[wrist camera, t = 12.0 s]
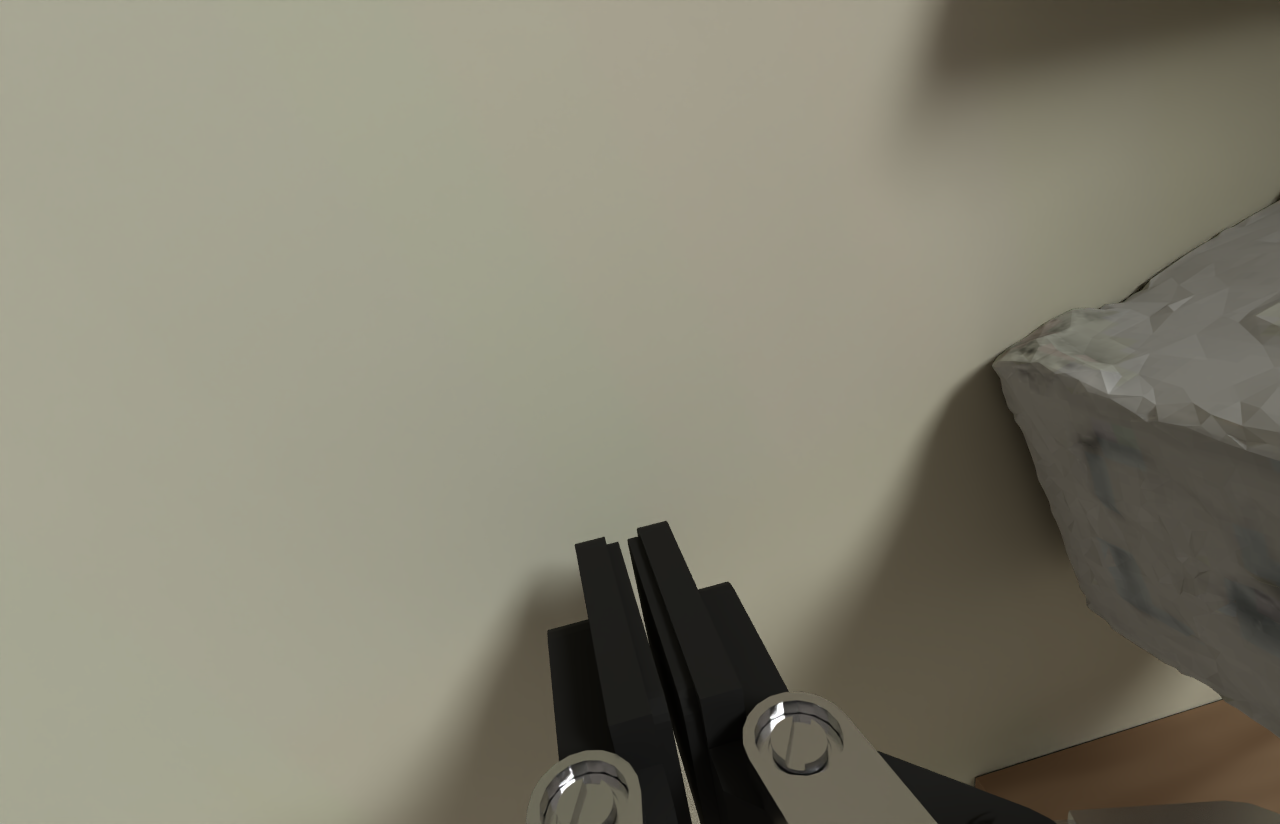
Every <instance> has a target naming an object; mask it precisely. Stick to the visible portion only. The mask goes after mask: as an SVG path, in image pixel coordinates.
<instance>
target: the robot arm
mask: <svg viewBox="0 0 1280 824" xmlns="http://www.w3.org/2000/svg"><path fill="white" fill-rule="evenodd" d="M637 534H638V537H634V538H631V539H628V546H629V551H630V555H631V560H632V565H633V570H634V574H635V579H636V584H637V589H638V593H639V598H640V603H641V608H642V612H643V617H644V622H645V627H646V631H647V636H648V639H647V636H646V633H645V629H644V626H643V623H642V619H641V616H640V613H639V609H638V606H637V603H636V599H635V596H634V593H633V589H632V586H631V583H630V579H629V576H628V573H627V569H626V566H625V563H624V559H623V556H622V553H621V549H620V546H619V543H618V542H615V543H611V544H606V541H605V537H601V538H598V539H594V540H590V541H586V542H582V543H578V544H575V549H576V554H577V560H578V565H579V570H580V576H581V581H582V586H583V592H584V597H585V603H586V608H587V613H588V620H584V621H580V622H577V623H573V624H569V625H566V626H562V627H558V628H554V629H551V630H548V633H547V635H548V648H549V658H550V669H551V680H552V690H553V701H554V712H555V722H556V733H557V743H558V754H559V762H558V763H556V764H554V765H553V766H552V767H551V768H550V769H549V770H548V771H547V772H546V773H545V774H544V775H543V776H542V777H541V779H540V780H539V782H538V784H537V785H536V787H535V789H534V790H533V792H532V794H531V798H530V802H529V805H528V809H527V817H526V824H692V821H691V817H690V812H689V807H688V802H687V797H686V792H685V788H684V783H683V778H682V773H681V768H680V763H679V758H678V754H677V749H676V744H675V739H676V742H677V746H678V749H679V752H680V756H681V759H682V762H683V766H684V769H685V773H686V776H687V779H688V783H689V786H690V789H691V793H692V796H693V800H694V803H695V806H696V810H697V813H698V816H699V820H700V823H701V824H1280V814H1278V813H1276V812H1273V811H1270V810H1268V809H1265V808H1262V807H1259V806H1256V805H1253V804H1250V803H1244V802H1234V801H1210V802H1195V803H1179V804H1164V805H1148V806H1132V807H1117V808H1101V809H1086V810H1070V811H1069V813H1068V820H1055V821H1053V820H1051V819H1050V818H1048V817H1046V816H1044V815H1042V814H1040V813H1038V812H1036V811H1034V810H1032V809H1030V808H1028V807H1025V806H1023V805H1020V804H1017V803H1015V802H1012V801H1009V800H1007V799H1004V798H1001V797H999V796H996V795H993V794H991V793H988V792H985V791H983V790H980V789H977V788H975V787H972V786H969V785H967V784H964V783H961V782H959V781H956V780H954V779H951V778H948V777H946V776H943V775H940V774H938V773H935V772H932V771H930V770H927V769H924V768H922V767H919V766H916V765H914V764H911V763H908V762H906V761H903V760H900V759H898V758H895V757H892V756H890V755H887V754H884V753H882V752H879V751H876V750H875V748H874V747H873V746H872V745H871V744H870V742H869V741H868V740H867V739H866V738H865V736H864V735H863V734H862V733H861V732H860V730H859V729H858V728H857V727H856V726H855V725H854V723H853V722H852V721H851V720H850V719H849V717H848V716H847V715H846V714H845V713H844V712H843V711H842V710H841V709H840V708H838V707H837V706H836V705H835V704H834V703H833V702H831V701H829V700H827V699H825V698H823V697H821V696H819V695H815V694H810V693H806V692H789V691H788V689H787V687H786V685H785V684H784V682H783V680H782V678H781V676H780V674H779V672H778V670H777V669H776V667H775V665H774V663H773V661H772V659H771V657H770V655H769V654H768V652H767V650H766V648H765V646H764V644H763V642H762V640H761V639H760V637H759V635H758V633H757V631H756V629H755V627H754V625H753V624H752V622H751V620H750V618H749V616H748V614H747V612H746V611H745V609H744V607H743V605H742V603H741V601H740V599H739V597H738V596H737V594H736V592H735V590H734V588H733V587H732V585H731V584H730V583H729V582H725V583H721V584H717V585H713V586H710V587H706V588H702V589H699V590H698V589H697V587H696V584H695V582H694V580H693V578H692V575H691V573H690V571H689V569H688V567H687V564H686V562H685V560H684V558H683V555H682V553H681V551H680V549H679V547H678V544H677V542H676V540H675V538H674V535H673V533H672V531H671V529H670V527H669V524H668V523H667V521H664V522H660V523H656V524H652V525H648V526H644V527H640V528H637ZM648 641H649V643H648ZM673 732H674V734H673ZM674 736H675V739H674Z"/></svg>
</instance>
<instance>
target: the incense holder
mask: <svg viewBox="0 0 1280 824" xmlns="http://www.w3.org/2000/svg"><path fill="white" fill-rule="evenodd" d="M992 367H993V368H994V370H995V371H996V373H997V374H998V375H999V377H1000V378H1001V385H1002V391H1003V394H1004V396H1005V399H1006V402H1007V406H1008V409H1009V410H1010V411H1011V412H1012V413H1014V419H1015V422H1016V423H1017V424H1018V425H1019V426H1020V428H1021V430H1022V432H1023V434H1024V437H1025V440H1026V442H1027V445H1028V448H1029V450H1030V453H1031V456H1032V459H1033V462H1034V465H1035V468H1036V472H1037V477H1038V480H1039V482H1040V484H1041V486H1042V488H1043V490H1044V492H1045V494H1046V496H1047V498H1048V500H1049V503H1050V508H1051V512H1052V514H1053V516H1054V518H1055V520H1056V522H1057V524H1058V527H1059V529H1060V532H1061V535H1062V538H1063V541H1064V544H1065V548H1066V552H1067V555H1068V557H1069V560H1070V562H1071V565H1072V567H1073V569H1074V572H1075V574H1076V577H1077V579H1078V582H1079V587H1080V589H1081V590H1082V592H1083V593H1084V594H1085V596H1086V602H1087V606H1088V607H1089V608H1090V609H1091V610H1092V611H1093V612H1095V613H1096V614H1098V615H1099V616H1101V617H1102V618H1103V619H1105V620H1106V621H1107V622H1108V623H1109V625H1110V626H1111V627H1112V629H1113V630H1115V631H1116V632H1118V633H1119V634H1121V635H1122V636H1124V637H1125V638H1127V639H1128V640H1130V641H1131V642H1133V643H1134V644H1136V645H1137V646H1139V647H1140V648H1142V649H1144V650H1146V651H1147V652H1149V653H1151V654H1152V655H1154V656H1155V657H1156V658H1158V659H1159V660H1161V661H1162V662H1164V663H1166V664H1168V665H1170V666H1172V667H1174V668H1176V669H1177V670H1178V671H1179V672H1180V673H1182V674H1184V675H1187V676H1190V677H1193V678H1195V679H1197V680H1199V681H1201V682H1202V683H1204V684H1206V685H1208V686H1209V687H1210V688H1212V689H1213V690H1214V691H1216V692H1217V693H1218V694H1219V695H1220V696H1221V697H1222V699H1223V700H1224V701H1225V702H1226V703H1228V704H1230V705H1232V706H1233V707H1235V708H1237V709H1238V710H1240V711H1241V712H1243V713H1244V714H1245V715H1247V716H1248V717H1250V718H1251V719H1253V720H1254V721H1256V722H1257V723H1259V724H1260V725H1262V726H1264V727H1265V728H1267V729H1268V730H1269V731H1271V732H1272V733H1273V734H1275V735H1276V736H1277V737H1279V738H1280V200H1279V201H1277V202H1275V203H1274V204H1272V205H1270V206H1268V207H1266V208H1264V209H1263V210H1261V211H1259V212H1257V213H1255V214H1254V215H1252V216H1250V217H1248V218H1247V219H1245V220H1244V221H1242V222H1240V223H1239V224H1237V225H1235V226H1234V227H1231V228H1228V229H1225V230H1223V231H1222V232H1221V233H1219V234H1218V235H1217V236H1216V237H1214V238H1212V239H1211V240H1209V241H1207V242H1205V243H1204V244H1202V245H1201V246H1199V247H1197V248H1196V249H1194V250H1193V251H1191V252H1189V253H1188V254H1186V255H1185V256H1183V257H1182V258H1181V259H1179V260H1178V261H1176V262H1175V263H1173V264H1172V265H1171V266H1169V267H1168V268H1166V269H1165V270H1163V271H1162V272H1161V273H1159V274H1158V275H1156V276H1155V277H1153V278H1152V279H1151V280H1150V281H1149V282H1148V283H1147V284H1146V286H1145V287H1144V288H1143V289H1142V290H1141V291H1139V292H1137V293H1135V294H1133V295H1131V296H1130V297H1129V298H1127V299H1126V300H1125V301H1124V302H1122V303H1115V304H1106V305H1104V306H1103V307H1101V308H1100V309H1093V308H1080V309H1071V310H1069V311H1067V312H1065V313H1063V314H1061V315H1059V316H1057V317H1055V318H1053V319H1051V320H1049V321H1048V322H1046V323H1044V324H1043V325H1042V326H1040V327H1039V328H1037V329H1036V330H1035V331H1033V332H1032V333H1031V334H1029V335H1028V336H1027V337H1025V338H1024V339H1022V340H1020V341H1019V342H1017V343H1015V344H1013V345H1012V346H1010V347H1009V348H1008V349H1006V350H1005V351H1004V352H1003V353H1002V354H1000V355H999V356H998V357H997V358H996V360H995V361H994V363H993V364H992Z"/></svg>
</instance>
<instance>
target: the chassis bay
mask: <svg viewBox="0 0 1280 824" xmlns="http://www.w3.org/2000/svg"><path fill="white" fill-rule="evenodd" d="M975 788H977V789H980V790H983V791H985V792H988V793H991V794H993V795H996V796H999V797H1001V798H1004V799H1007V800H1009V801H1012V802H1015V803H1017V804H1020V805H1023V806H1025V807H1028V808H1030V809H1032V810H1034V811H1036V812H1038V813H1040V814H1042V815H1044V816H1046V817H1048V818H1050V819H1051V820H1053V821H1055V820H1068V813H1069V811H1070V810H1086V809H1101V808H1117V807H1132V806H1148V805H1164V804H1179V803H1195V802H1210V801H1234V802H1244V803H1250V804H1253V805H1256V806H1259V807H1262V808H1265V809H1268V810H1270V811H1273V812H1276V813H1278V814H1280V738H1279V737H1277V736H1276V735H1275V734H1273V733H1272V732H1271V731H1269V730H1268V729H1267V728H1265V727H1264V726H1262V725H1260V724H1259V723H1257V722H1256V721H1254V720H1253V719H1251V718H1250V717H1248V716H1247V715H1245V714H1244V713H1243V712H1241V711H1240V710H1238V709H1237V708H1235V707H1233V706H1232V705H1230V704H1228V703H1226V702H1225V701H1224V700H1220V701H1217V702H1214V703H1211V704H1207V705H1204V706H1201V707H1198V708H1195V709H1192V710H1188V711H1185V712H1182V713H1179V714H1176V715H1173V716H1169V717H1166V718H1163V719H1160V720H1157V721H1154V722H1151V723H1147V724H1144V725H1141V726H1138V727H1135V728H1132V729H1128V730H1125V731H1122V732H1119V733H1116V734H1113V735H1109V736H1106V737H1103V738H1100V739H1097V740H1094V741H1091V742H1087V743H1084V744H1081V745H1078V746H1075V747H1072V748H1068V749H1065V750H1062V751H1059V752H1056V753H1053V754H1049V755H1046V756H1043V757H1040V758H1037V759H1034V760H1031V761H1027V762H1024V763H1021V764H1018V765H1015V766H1012V767H1008V768H1005V769H1002V770H999V771H996V772H993V773H990V774H986V775H983V776H980V777H977V778H976V781H975Z"/></svg>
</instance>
